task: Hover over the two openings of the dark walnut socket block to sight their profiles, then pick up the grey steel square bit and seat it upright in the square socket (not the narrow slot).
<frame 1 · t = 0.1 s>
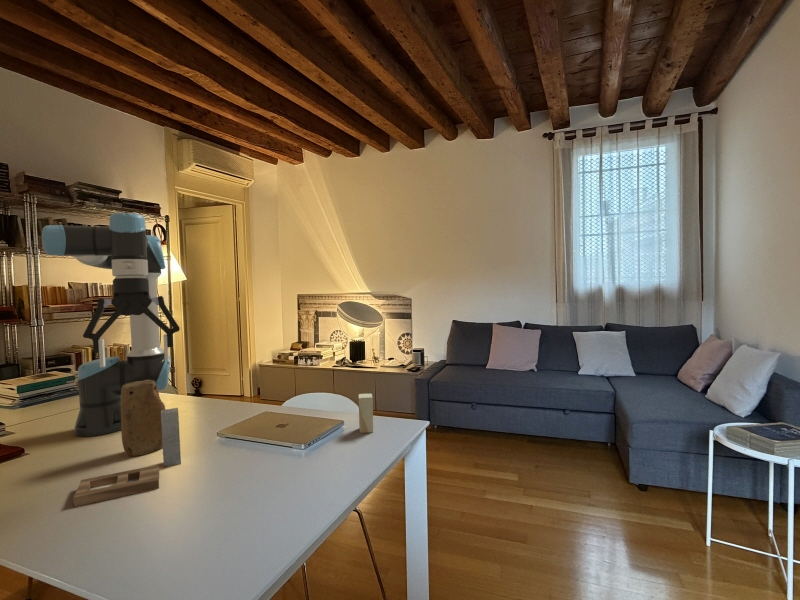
hand: (135, 363, 109), 28 cm above the table, fingers open, 13 cm apart
socket block: (120, 488, 103), on the table
box: (366, 430, 138), on the table
steel bit: (172, 462, 117), on the table
block: (145, 451, 126), on the table
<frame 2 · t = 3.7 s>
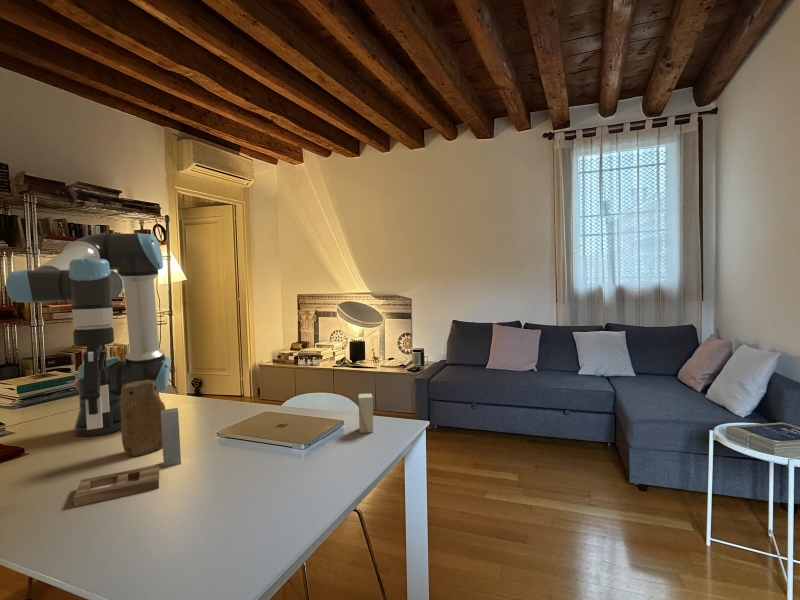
hand: (99, 420, 100), 17 cm above the table, fingers open, 13 cm apart
nothing on the table moved.
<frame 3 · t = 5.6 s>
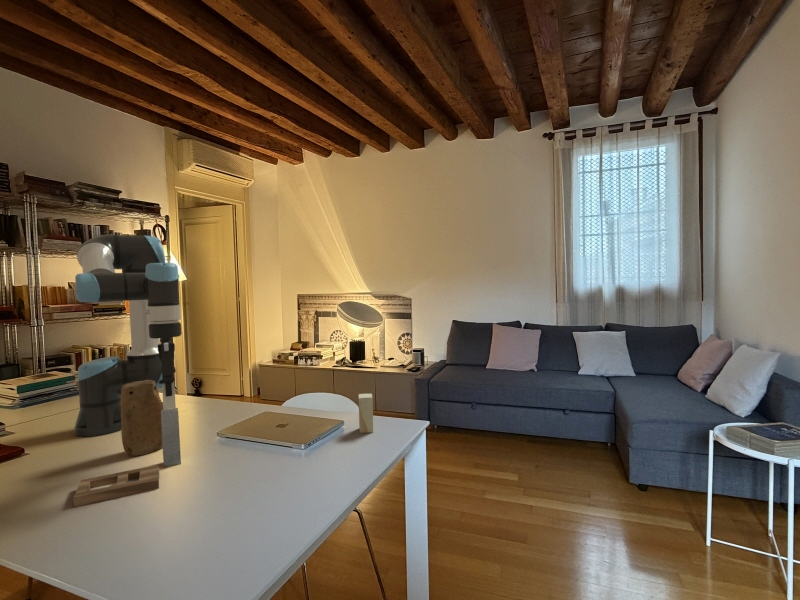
hand: (169, 402, 116), 16 cm above the table, fingers open, 13 cm apart
nothing on the table moved.
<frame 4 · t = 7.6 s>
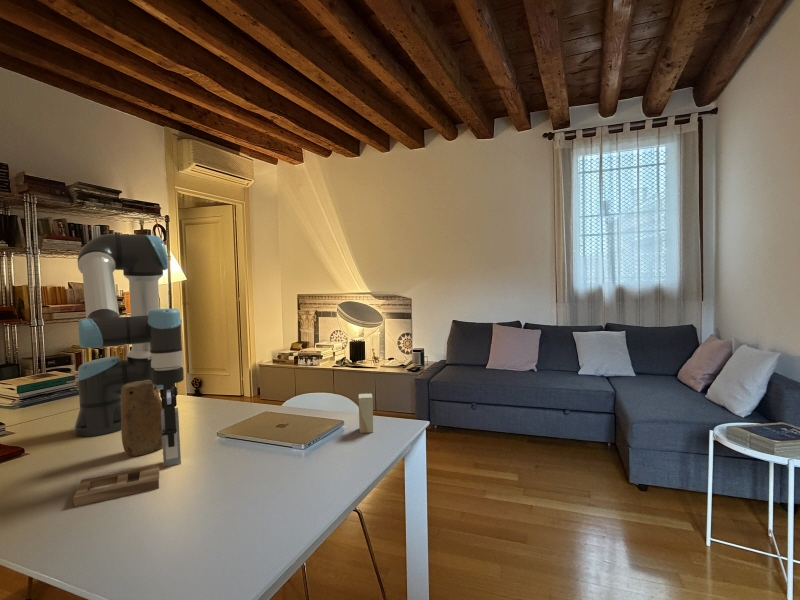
hand: (171, 454, 117), 2 cm above the table, fingers closed on steel bit, 4 cm apart
steel bit: (172, 462, 117), on the table, touching gripper
everything else where it was.
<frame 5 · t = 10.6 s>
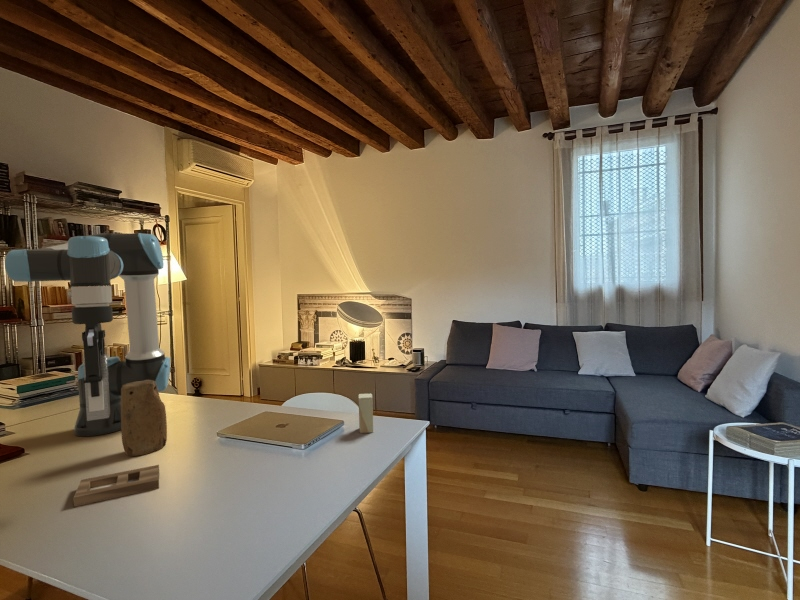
hand: (98, 407, 100), 20 cm above the table, fingers closed on steel bit, 4 cm apart
steel bit: (98, 417, 100), point 17 cm above the table, touching gripper
everything else where it was.
when the fingers open (4 cm above the table, at t = 13.6 s): steel bit drops 1 cm, resting on socket block.
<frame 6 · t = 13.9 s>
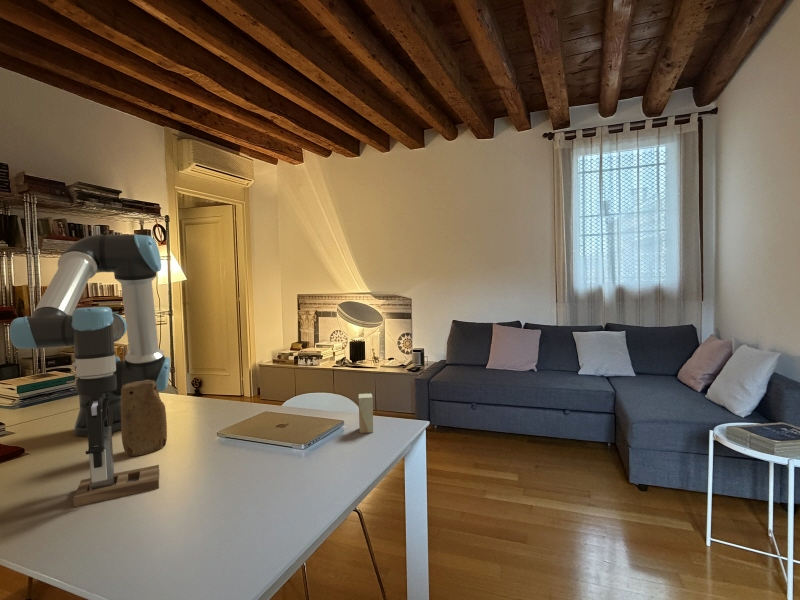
hand: (102, 472, 101), 5 cm above the table, fingers open, 9 cm apart
steel bit: (103, 489, 101), resting on socket block
everything else where it was.
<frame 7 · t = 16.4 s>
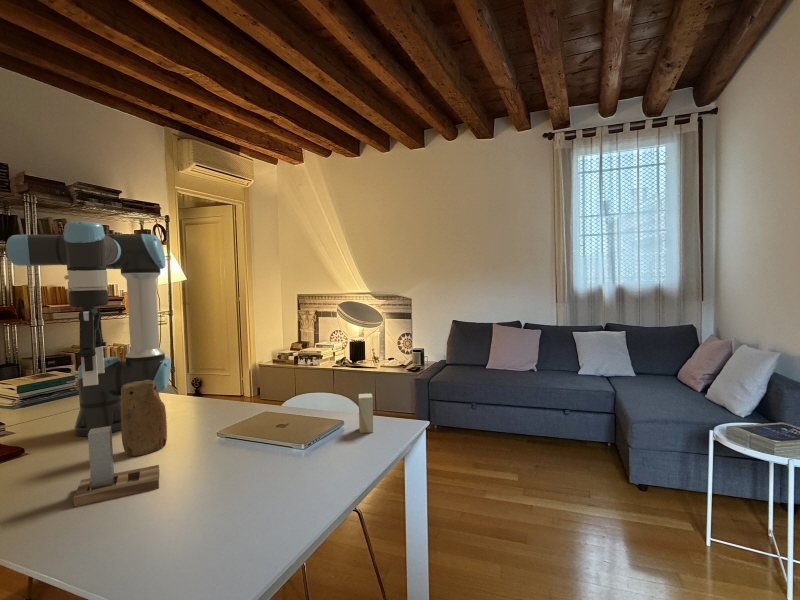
hand: (94, 379, 104), 25 cm above the table, fingers open, 13 cm apart
nothing on the table moved.
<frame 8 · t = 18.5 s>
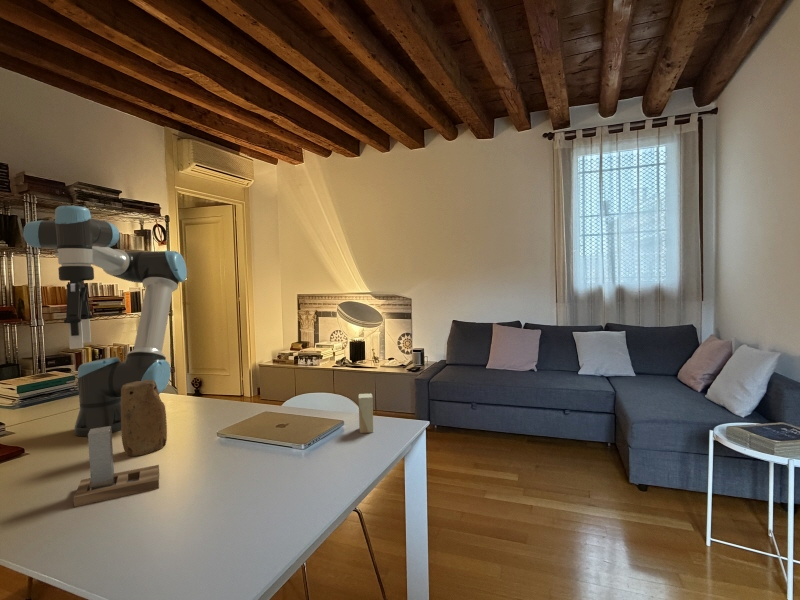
hand: (81, 345, 117), 32 cm above the table, fingers open, 13 cm apart
nothing on the table moved.
at the end: steel bit 0.0 cm from the target spot on the socket block, point 0.4 cm above the socket block's base; steel bit tilted 0°; the gripper is holding nothing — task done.
